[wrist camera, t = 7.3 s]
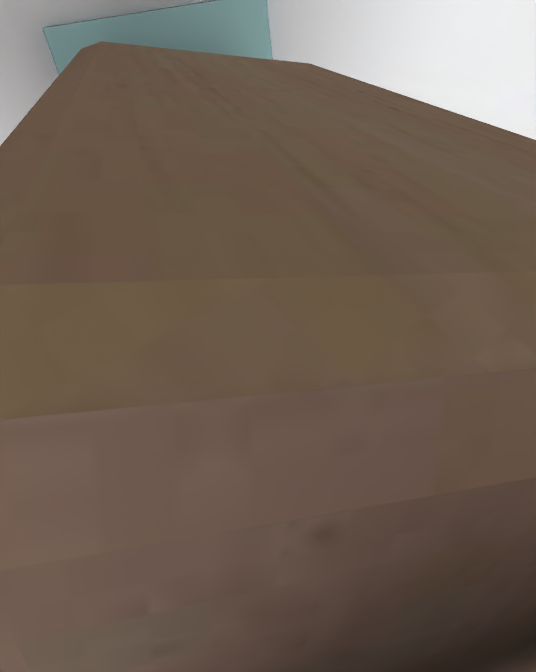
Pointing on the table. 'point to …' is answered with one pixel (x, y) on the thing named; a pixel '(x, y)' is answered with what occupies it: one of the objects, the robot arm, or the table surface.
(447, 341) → the wooden block
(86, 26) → the board
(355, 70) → the table surface
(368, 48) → the table surface
